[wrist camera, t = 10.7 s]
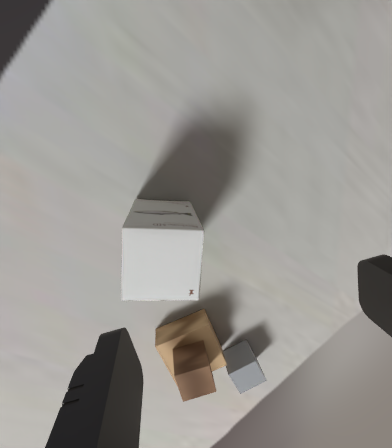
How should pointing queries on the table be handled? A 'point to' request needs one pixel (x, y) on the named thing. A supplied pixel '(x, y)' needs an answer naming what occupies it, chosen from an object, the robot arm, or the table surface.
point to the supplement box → (161, 252)
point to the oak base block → (189, 339)
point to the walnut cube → (193, 371)
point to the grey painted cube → (243, 367)
